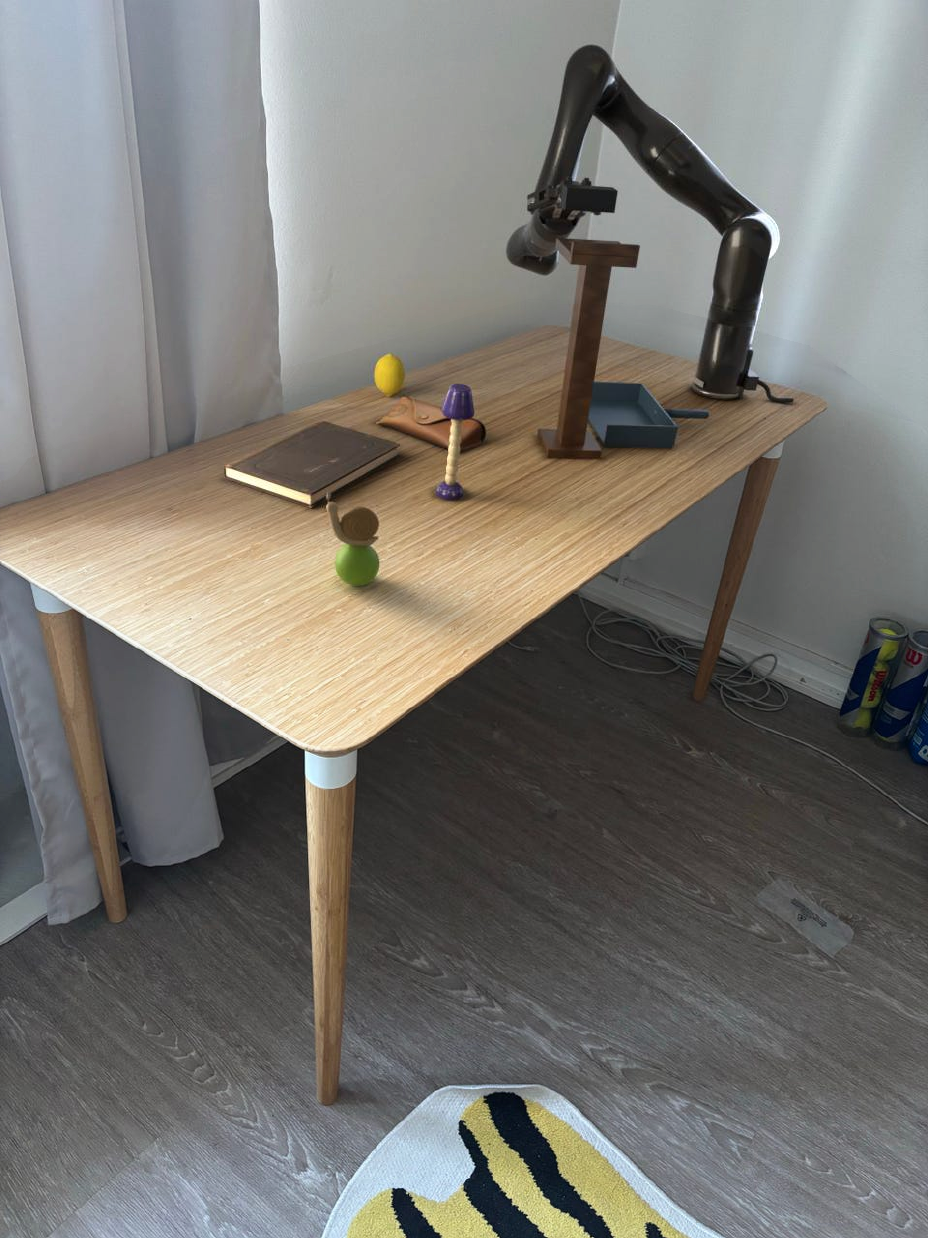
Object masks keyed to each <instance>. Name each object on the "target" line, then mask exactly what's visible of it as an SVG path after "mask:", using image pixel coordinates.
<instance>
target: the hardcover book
mask: <svg viewBox="0 0 928 1238" xmlns="http://www.w3.org/2000/svg"><path fill="white" fill-rule="evenodd" d="M400 447H401V443H398V442H395V441H392V440H389V439H387V438H386V439H385V438H382V437H379V436H376V435H372V434H369V433H365V432H362V431H358V430H355V429H353V428H348V427H345V426H342V425H339V424H334V423H332V422H328V421H325V420H322V419H321V420H318V421H316V422H315V423H313V424H310V425H308V426H306V427H304V428H302V429H300V430H297V431H296V432H293V433H291V434H289V435H287V436H285V437H283V438H280V439H277V440H276V441H274V442H273V443H270V444H268V445H266V446H264V447H262V448H260V449H257V450H256V451H253V452H251V453H249V454H247V455H244V456H243V457H240V458H238V459H236V460H234V461H232V462H229V463H227V464H225V465H224V466H223V475H224V477H225V478H226V480H228V481H231V482H234V483H236V484H239V485H242V486H245V487H247V488H251V489H253V490H256V491H260V492H262V493H265V494H268V495H272V496H274V497H277V498H280V499H282V500H286V501H289V502H291V503H295V504H297V505H300V506H303V507H306V508H310V509H313V508H315V507H316V506H318V505H320V504H321V503H323V502H325V501H326V500H327V501H328V499H327V498H326V496H327V493H328V492H329V493H331V498H332V497H334V496H335V495H337V494H339V493H341V492H342V491H344V490H346V489H347V488H349V487H351V486H353V485H354V484H356V483H358V482H360V481H361V480H362V479H364V478H366V477H368V476H370V475H372V474H373V473H375V472H376V471H378V470H380V469H382V468H384V467H385V466H387V465H388V464H390V463H392V462H393V461H395V460H397V459H399V458H400V457H401V455H400V454H398V451H399V450H398V448H400Z"/></svg>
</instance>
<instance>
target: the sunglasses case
mask: <svg viewBox="0 0 928 1238" xmlns="http://www.w3.org/2000/svg"><path fill="white" fill-rule="evenodd" d="M441 410H442V406H438V405H435V404H431V403H428V402H425V401H422V400H420V399H417V398H414V397H412V396H410V395H409V394H406V393H405V394H402V397H401V398H400V399H399V400H398V401H397V402H396V403H395V404H394V406H392V407H391V408H390V410H389V411H388V412H387V413H386V414H385V415H384V416H383V417H382V419H381V420H380V421H376V423H375V424H377V425H380V426H383V427H387V428H390V429H393V430H395V431H398V432H400V433H403V434H406V435H408V436H410V437H413V438H416V439H419V440H421V441H423V442H426V443H428V444H431V445H432V446H433V445H434V446H436V447H440V448H443V449H447V450H448V448H449V445H450V442H449V439H450V435H451V432H450V428H451V425H452V422H451V419H450V418H447V417H445V416H444V415H443V414H442V412H441ZM486 435H487V428H486V426H485V424H484V423H483V422H482V421H481V420H479V419H476V418H474V417H472V418H471V419H468V420H463V423H462V433H461V443H460V452H463V451H467V450H471V449H472V448H475V447H477V446H480V445H482V444H483V442H484V441H485V439H486Z"/></svg>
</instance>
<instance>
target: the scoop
mask: <svg viewBox="0 0 928 1238" xmlns="http://www.w3.org/2000/svg"><path fill="white" fill-rule="evenodd" d="M710 414H711V413H710V411H709V410H707V409H691V408H690V409H689V408H688V409H685V408H684V409H683V408H664V407H663V406H662V405H661V404H660V403H659V401H658V400H657V399H656V398H655V396H654V395H653V394H652V393H651V392H650V391H649V389H648V388H647V387H646V386H645V384H643V382H617V381H594V385H593V391H592V398H591V404H590V410H589V417H588V423H589V425H590V426H591V428H592V430H593V431H594V433H595V434H596V436H597V437H598V439H599V441H600V443H601V444H602V446H603V447H604V448H605V447H607V448H608V447H609V448H650V449H653V448H654V449H672V447H675V444H676V440H677V435H678V430H679V426H678V425H677V423H676V422H675V421H674V420H673V419H690V420H691V419H693V420H694V419H695V420H696V419H697V420H698V419H699V420H706V419H709V417H710Z"/></svg>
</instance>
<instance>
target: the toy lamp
mask: <svg viewBox="0 0 928 1238" xmlns="http://www.w3.org/2000/svg"><path fill="white" fill-rule="evenodd" d="M473 400H474V399H473V394H472V389H471V387H470V386H469V385H467V384H463V383H452V384H451V385H450V386H449V388H448V390H447V392H446V396H445V398H444V401H443V404H442V406H441V408H442V410H441V412H442V414H443V415H444V416H445V417H447V418H450V419H451V422H452V425H451V428H450V432H451V435H450V439H449V442H450V445H449V448H448V449H447V451H448V454H447V458H446V462H447V464H446V466H445V467H446V468H445V472H446V474H445V476H444V481H442V482H440V483H439V484H438V485H437V487H436V489H435V495H436V496H437V497H438V498H440V499H442V500H445V501H459V500H461V499H463V498H464V497H465V491H464V488H463V486H462V485H461V484H460V483H459V482H457V480H458V478H457V477H458V476H457V473H458V470H459V466H458V465H459V462H460V454H461V451H460V443H461V433H462V423H463V420H468V419H471V418H474V417H475V408H474V401H473Z"/></svg>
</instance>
